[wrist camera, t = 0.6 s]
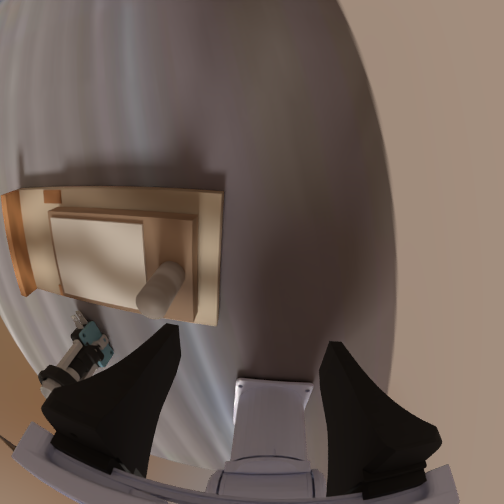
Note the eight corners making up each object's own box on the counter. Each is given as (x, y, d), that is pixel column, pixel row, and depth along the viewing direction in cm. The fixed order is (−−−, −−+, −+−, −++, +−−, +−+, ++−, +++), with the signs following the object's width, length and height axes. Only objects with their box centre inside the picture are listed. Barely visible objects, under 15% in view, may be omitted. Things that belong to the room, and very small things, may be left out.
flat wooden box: (218, 319, 23) (212, 341, 20) (37, 282, 24) (21, 295, 21) (224, 191, 19) (216, 200, 16) (20, 188, 19) (0, 195, 17)
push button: (67, 311, 25) (16, 367, 15) (96, 304, 24) (41, 369, 15) (96, 356, 27) (58, 415, 18) (127, 354, 26) (89, 422, 17)
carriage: (197, 311, 21) (179, 358, 16) (72, 287, 22) (39, 319, 17) (198, 214, 18) (171, 243, 13) (58, 206, 19) (14, 226, 14)
